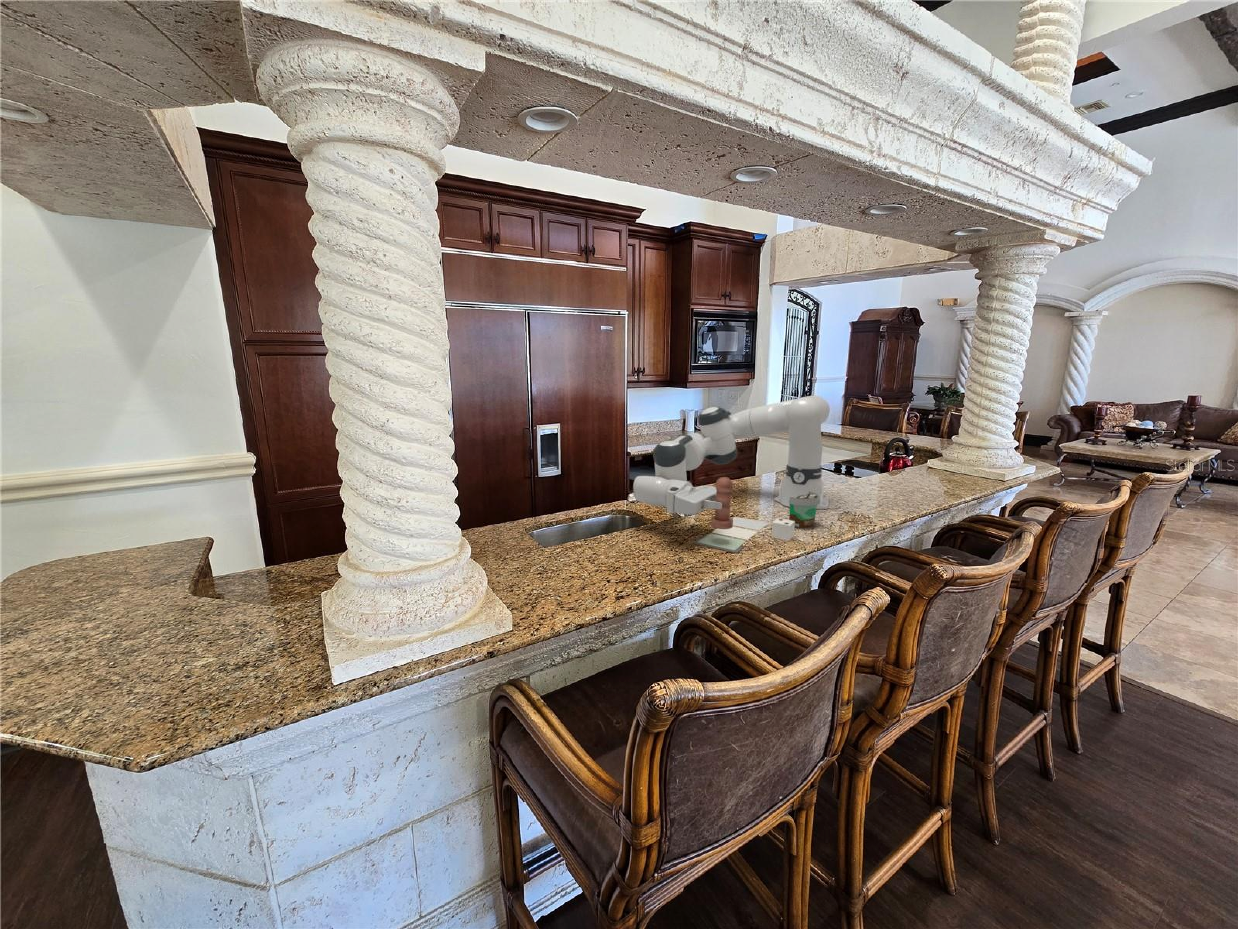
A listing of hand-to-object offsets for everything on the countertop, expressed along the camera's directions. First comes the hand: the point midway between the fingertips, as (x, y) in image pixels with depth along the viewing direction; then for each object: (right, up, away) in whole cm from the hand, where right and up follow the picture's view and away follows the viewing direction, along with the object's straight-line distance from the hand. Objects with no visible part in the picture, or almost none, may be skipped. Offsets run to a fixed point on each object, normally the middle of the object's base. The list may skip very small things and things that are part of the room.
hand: (726, 503), depth 138 cm
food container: (+29, -9, +18) cm, 35 cm away
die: (+18, -11, +7) cm, 22 cm away
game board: (+5, -10, +11) cm, 16 cm away
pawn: (-1, -6, +2) cm, 7 cm away
